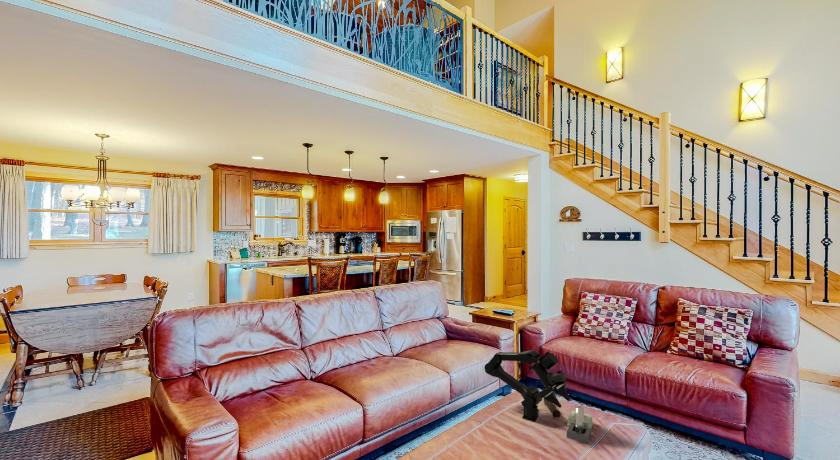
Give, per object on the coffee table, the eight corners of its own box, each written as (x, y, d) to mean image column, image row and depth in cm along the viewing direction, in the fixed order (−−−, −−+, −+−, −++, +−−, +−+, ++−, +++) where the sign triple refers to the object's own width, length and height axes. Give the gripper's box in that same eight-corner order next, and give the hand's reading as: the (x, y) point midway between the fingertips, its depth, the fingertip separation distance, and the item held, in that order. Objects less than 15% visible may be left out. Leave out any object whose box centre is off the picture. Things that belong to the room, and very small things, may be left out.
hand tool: (560, 418, 193) (560, 409, 193) (552, 418, 193) (552, 409, 193) (549, 401, 212) (549, 393, 212) (541, 401, 212) (542, 392, 212)
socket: (566, 437, 175) (566, 430, 175) (571, 429, 182) (571, 422, 182) (587, 444, 169) (587, 437, 169) (591, 435, 177) (591, 428, 177)
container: (566, 426, 185) (566, 417, 185) (571, 417, 193) (571, 409, 193) (589, 432, 179) (589, 424, 179) (593, 423, 187) (593, 415, 187)
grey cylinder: (574, 436, 175) (574, 408, 175) (576, 433, 178) (576, 405, 178) (582, 439, 173) (582, 410, 173) (584, 435, 176) (584, 407, 176)
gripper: (545, 370, 177) (568, 402, 170) (563, 360, 191) (585, 389, 183) (529, 382, 183) (551, 414, 175) (547, 372, 196) (568, 400, 189)
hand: (565, 404), depth 180 cm, fingers open, 9 cm apart
